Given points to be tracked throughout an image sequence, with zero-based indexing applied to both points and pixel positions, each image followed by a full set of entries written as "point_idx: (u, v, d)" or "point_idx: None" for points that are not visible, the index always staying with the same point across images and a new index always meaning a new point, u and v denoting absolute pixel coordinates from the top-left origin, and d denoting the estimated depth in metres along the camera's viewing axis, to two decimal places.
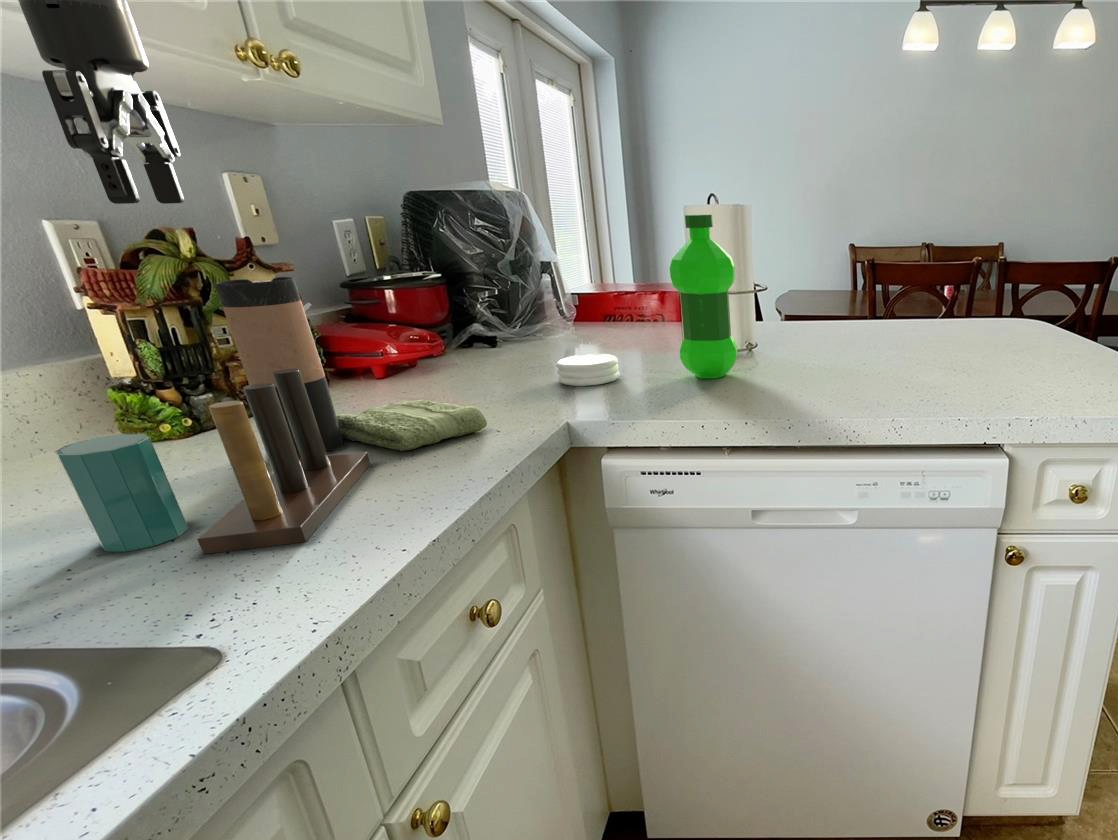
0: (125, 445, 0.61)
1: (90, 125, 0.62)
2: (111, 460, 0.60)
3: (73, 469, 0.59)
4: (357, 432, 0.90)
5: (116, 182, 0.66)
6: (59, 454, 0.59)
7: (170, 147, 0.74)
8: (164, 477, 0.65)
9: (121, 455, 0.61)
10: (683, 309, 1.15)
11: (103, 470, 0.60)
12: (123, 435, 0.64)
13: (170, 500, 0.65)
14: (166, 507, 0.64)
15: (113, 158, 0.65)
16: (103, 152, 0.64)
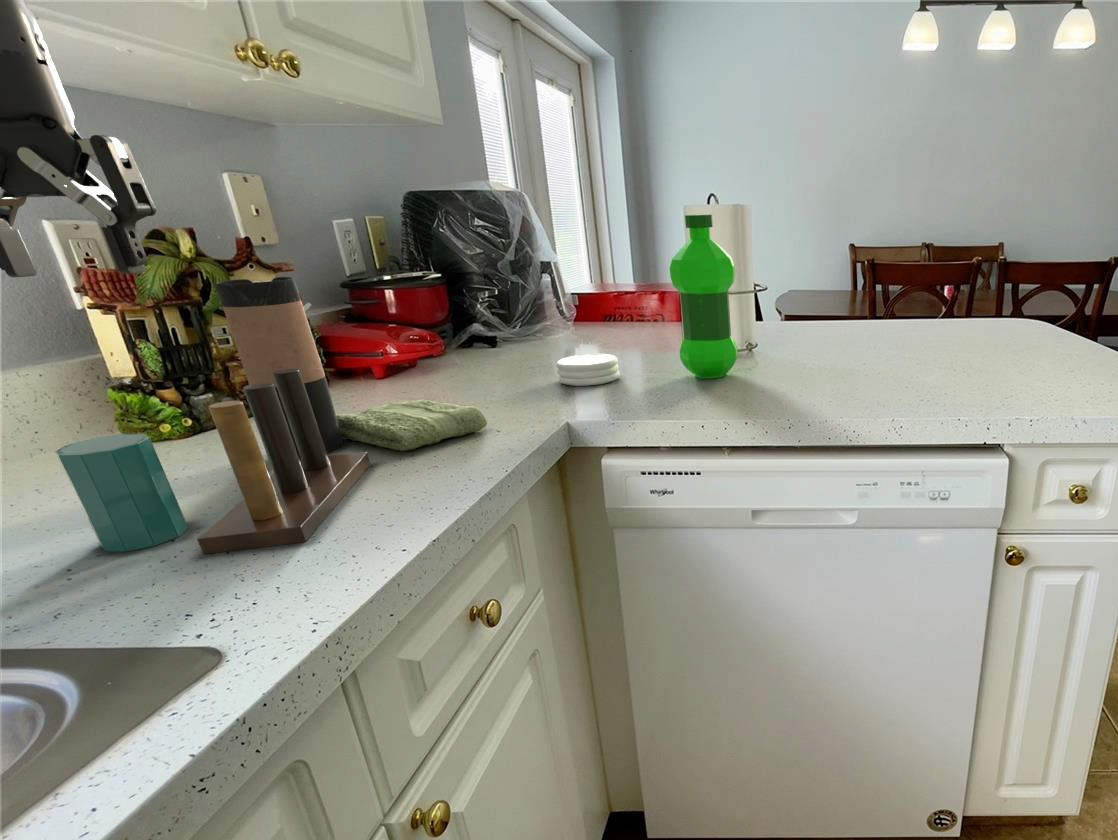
0: (125, 445, 0.61)
1: (147, 193, 0.60)
2: (111, 460, 0.60)
3: (73, 469, 0.59)
4: (357, 432, 0.90)
5: (141, 250, 0.61)
6: (59, 454, 0.59)
7: None
8: (164, 477, 0.65)
9: (121, 455, 0.61)
10: (683, 309, 1.15)
11: (103, 470, 0.60)
12: (123, 435, 0.64)
13: (170, 500, 0.65)
14: (166, 507, 0.64)
15: None
16: (137, 219, 0.61)
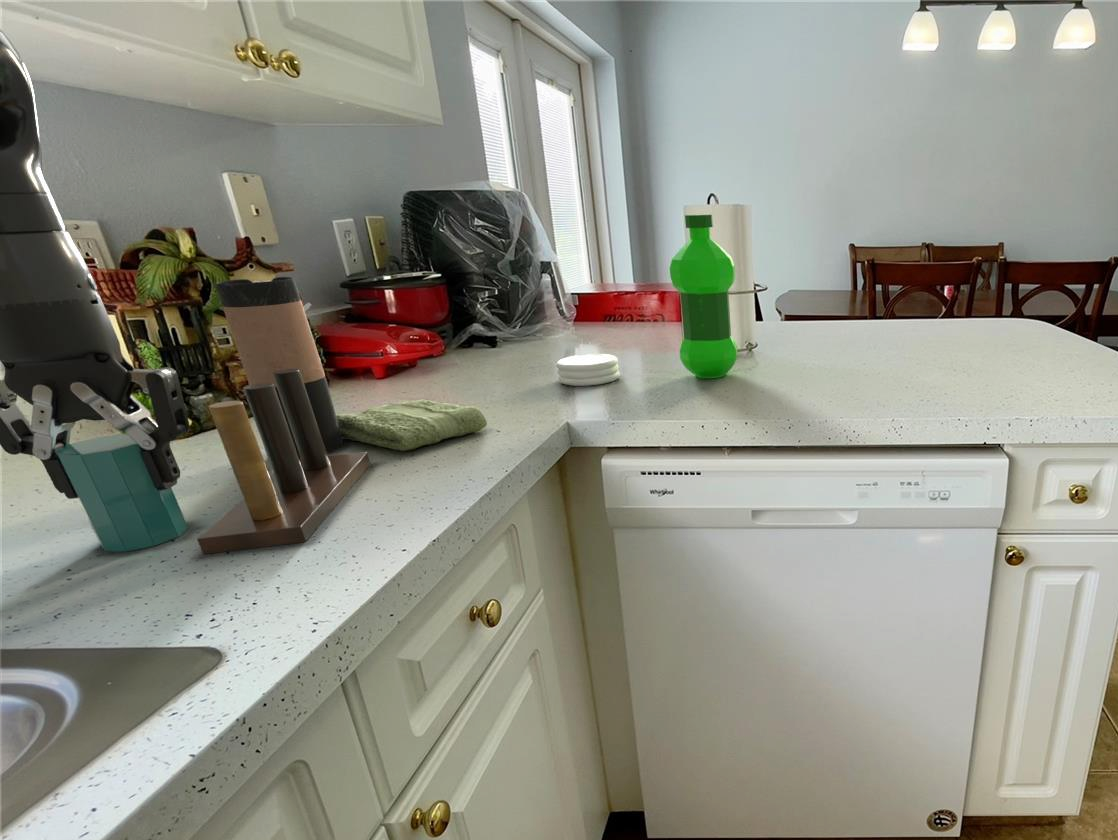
0: (125, 445, 0.61)
1: (185, 415, 0.63)
2: (111, 460, 0.60)
3: (73, 469, 0.59)
4: (357, 432, 0.90)
5: (175, 465, 0.64)
6: (59, 454, 0.59)
7: None
8: None
9: (121, 455, 0.61)
10: (683, 309, 1.15)
11: (103, 470, 0.60)
12: (123, 435, 0.64)
13: (170, 500, 0.65)
14: (166, 507, 0.64)
15: None
16: None
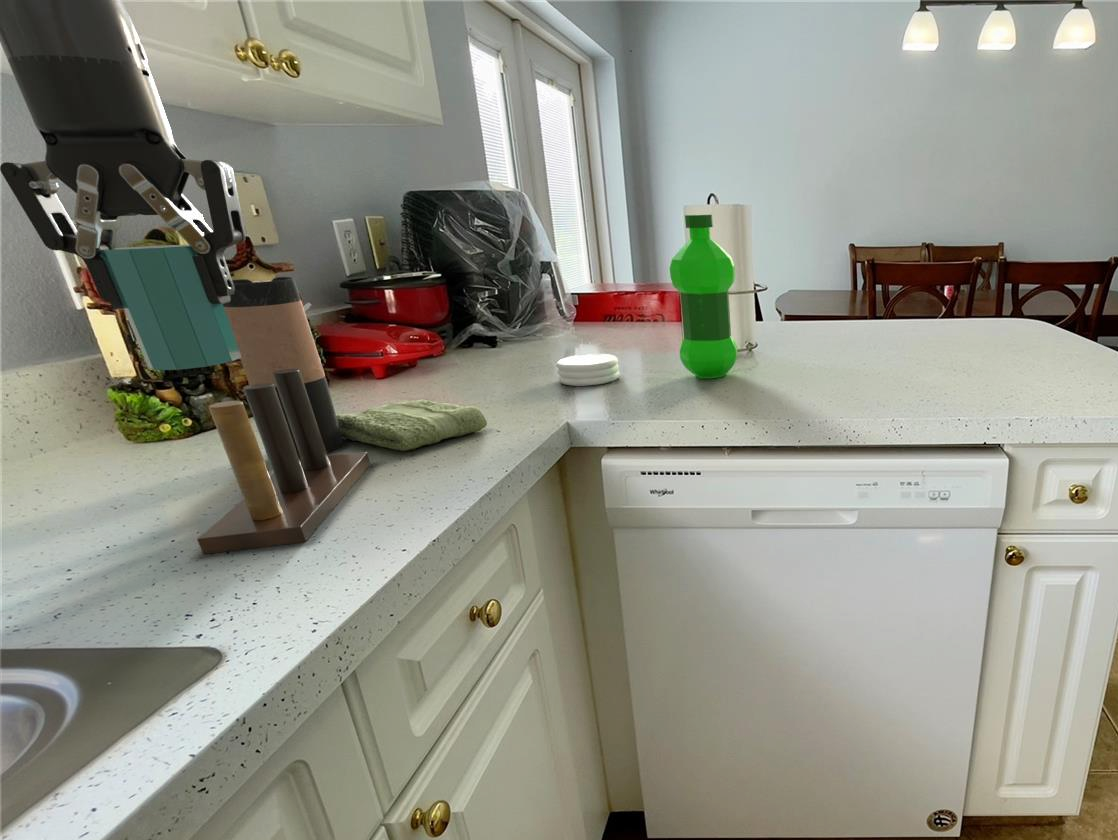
0: (176, 246, 0.55)
1: (241, 221, 0.57)
2: (162, 260, 0.54)
3: (121, 267, 0.54)
4: (357, 432, 0.90)
5: (230, 279, 0.58)
6: (105, 249, 0.53)
7: None
8: None
9: (173, 255, 0.55)
10: (683, 309, 1.15)
11: (153, 270, 0.54)
12: (172, 245, 0.58)
13: (223, 320, 0.59)
14: (219, 325, 0.58)
15: None
16: (227, 247, 0.57)
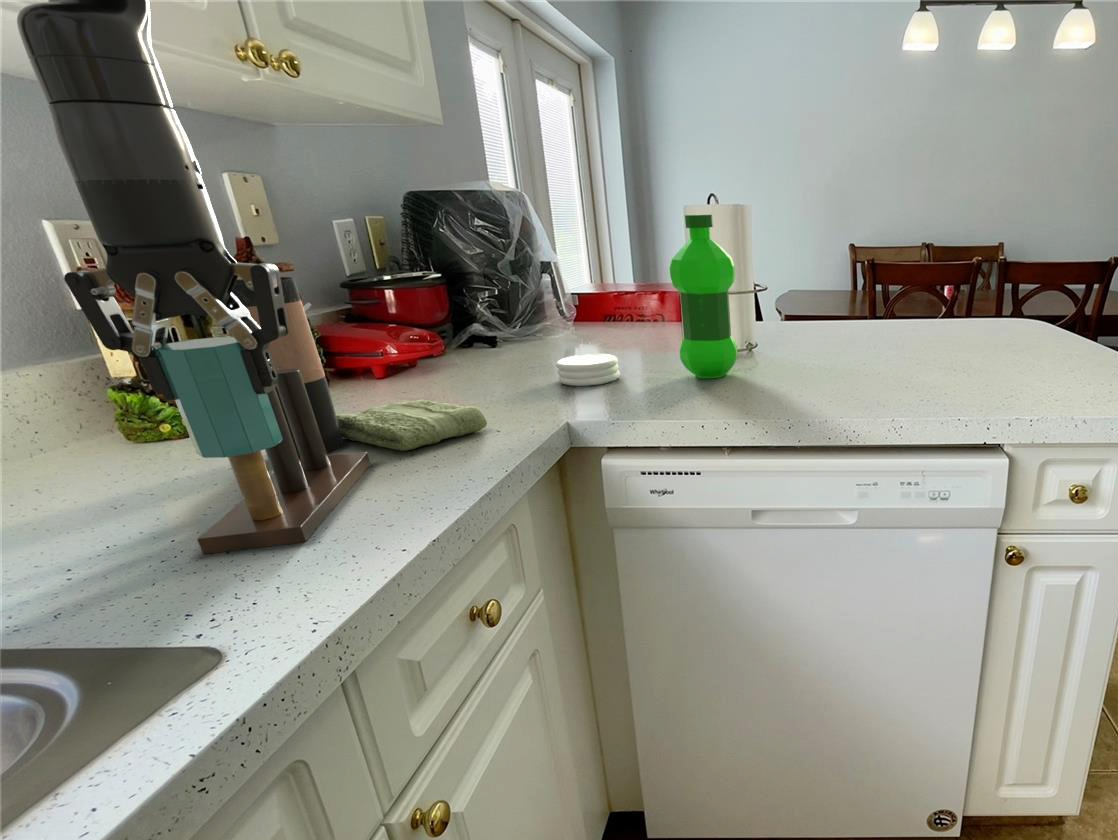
0: (226, 343, 0.58)
1: (285, 316, 0.61)
2: (213, 358, 0.57)
3: (175, 365, 0.57)
4: (357, 432, 0.90)
5: (274, 370, 0.61)
6: (160, 349, 0.56)
7: None
8: None
9: (223, 353, 0.58)
10: (683, 309, 1.15)
11: (205, 367, 0.57)
12: (219, 338, 0.61)
13: (266, 407, 0.62)
14: (263, 413, 0.61)
15: None
16: None
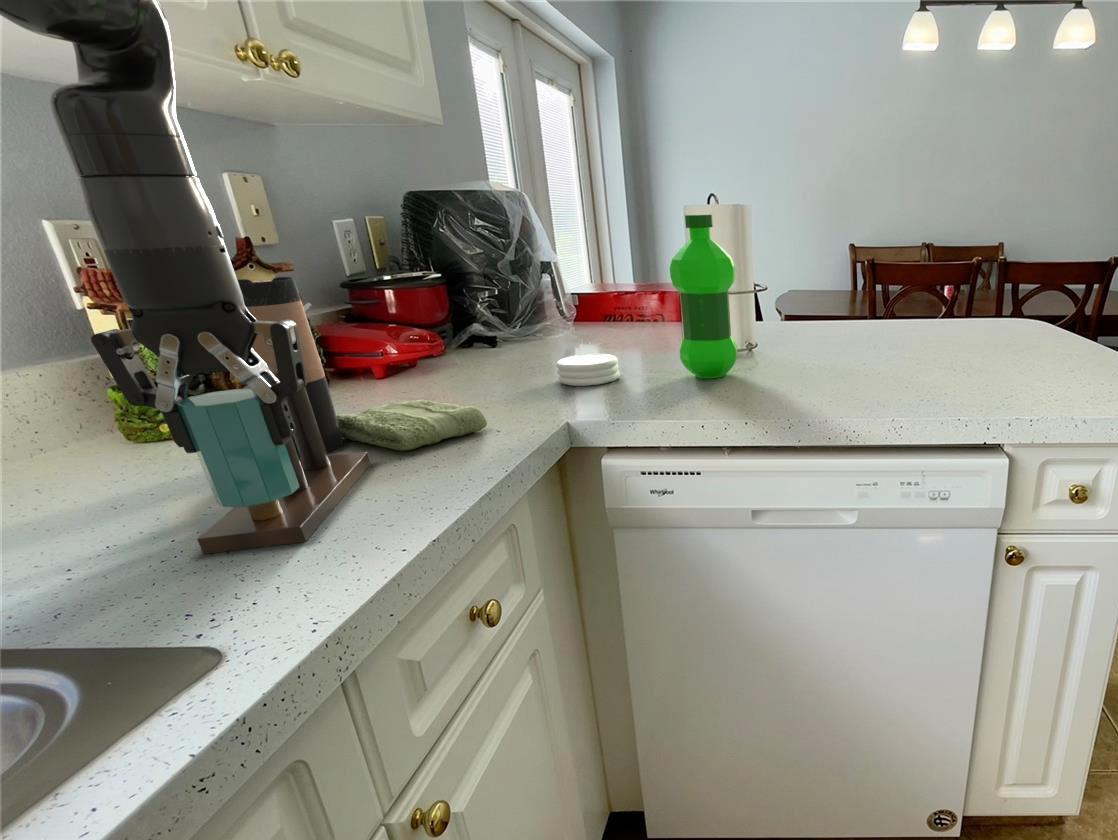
0: (246, 398, 0.60)
1: (303, 370, 0.62)
2: (234, 413, 0.59)
3: (196, 421, 0.59)
4: (357, 432, 0.90)
5: (292, 421, 0.63)
6: (183, 406, 0.58)
7: (156, 389, 0.60)
8: None
9: (243, 408, 0.60)
10: (683, 309, 1.15)
11: (226, 422, 0.59)
12: (238, 390, 0.63)
13: (284, 457, 0.64)
14: (281, 463, 0.63)
15: None
16: None
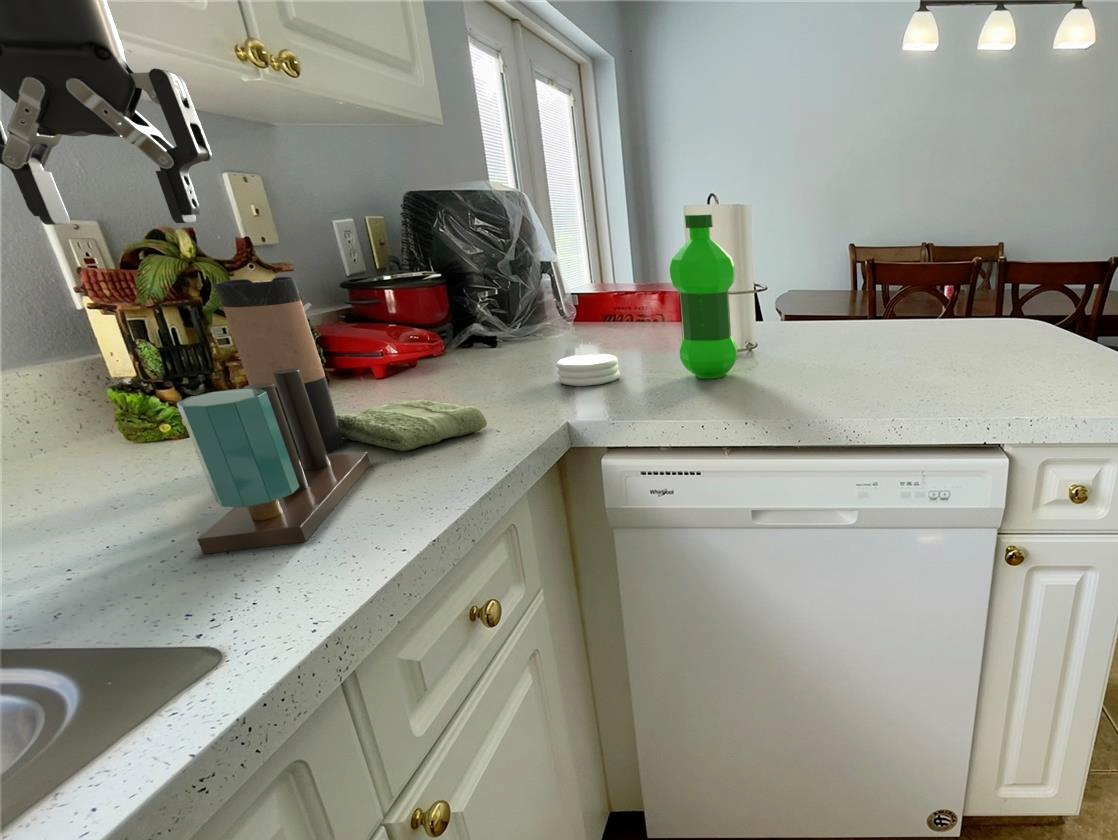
0: (246, 398, 0.60)
1: (203, 136, 0.56)
2: (234, 413, 0.59)
3: (196, 421, 0.59)
4: (357, 432, 0.90)
5: (195, 198, 0.57)
6: (183, 406, 0.58)
7: None
8: (279, 433, 0.64)
9: (243, 408, 0.60)
10: (683, 309, 1.15)
11: (226, 422, 0.59)
12: (238, 390, 0.63)
13: (284, 457, 0.64)
14: (281, 463, 0.63)
15: None
16: (192, 164, 0.56)
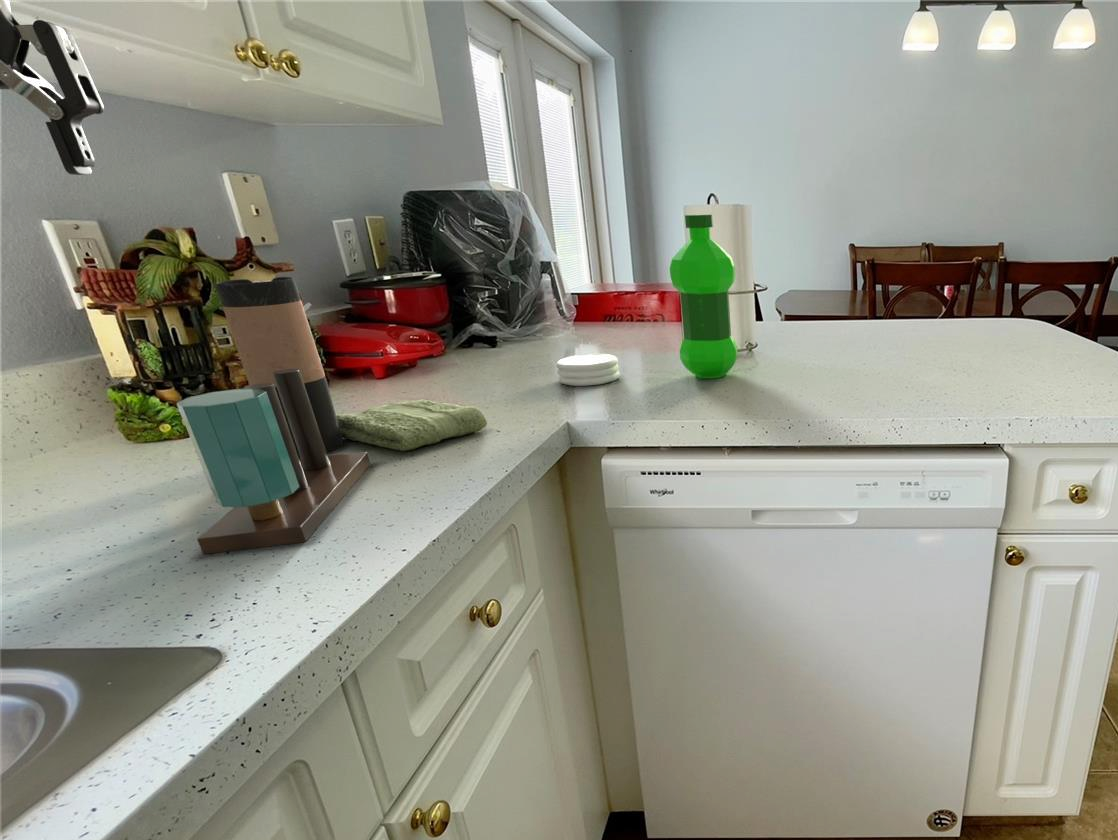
0: (246, 398, 0.60)
1: (94, 89, 0.58)
2: (234, 413, 0.59)
3: (196, 421, 0.59)
4: (357, 432, 0.90)
5: (88, 150, 0.59)
6: (183, 406, 0.58)
7: None
8: (279, 433, 0.64)
9: (243, 408, 0.60)
10: (683, 309, 1.15)
11: (226, 422, 0.59)
12: (238, 390, 0.63)
13: (284, 457, 0.64)
14: (281, 463, 0.63)
15: None
16: (84, 117, 0.58)
